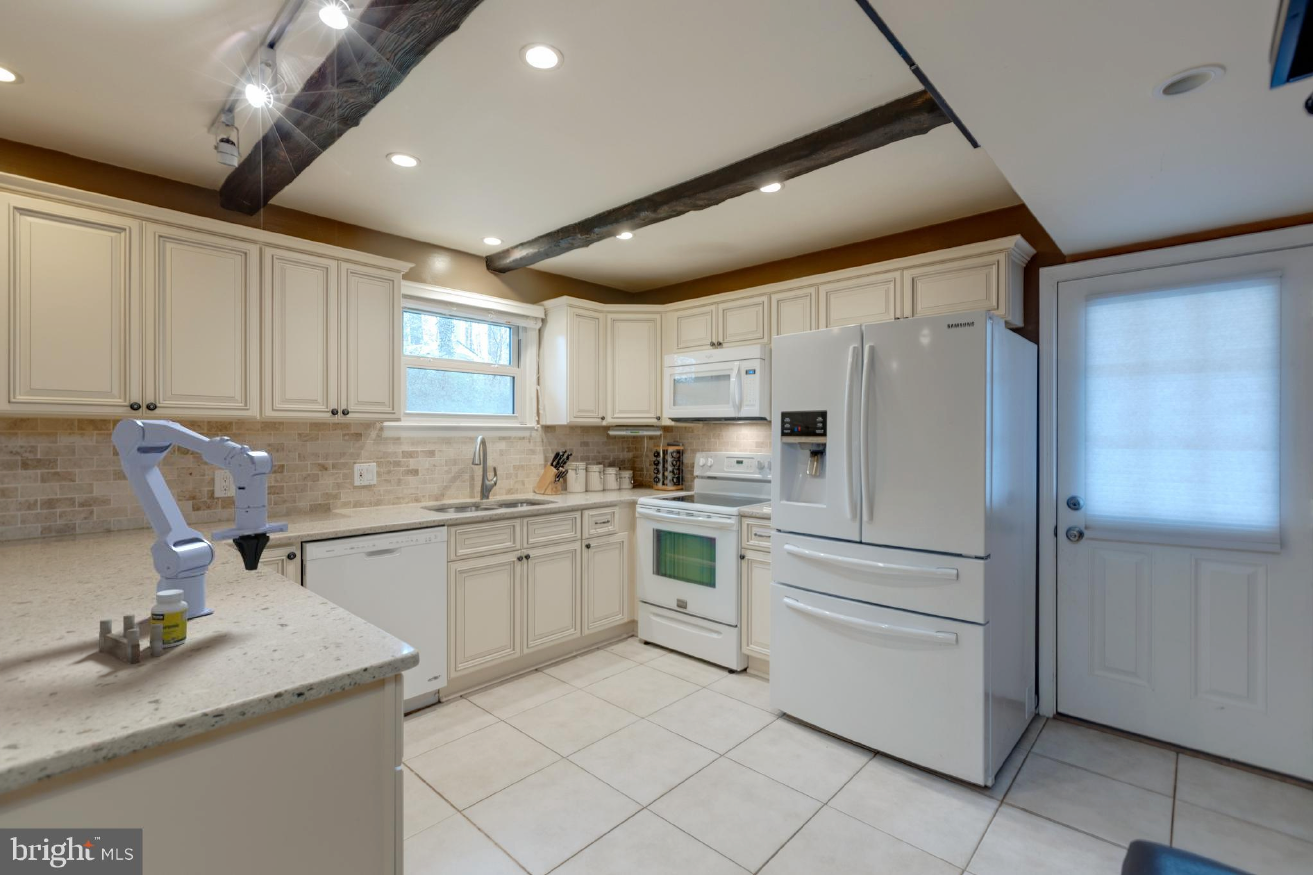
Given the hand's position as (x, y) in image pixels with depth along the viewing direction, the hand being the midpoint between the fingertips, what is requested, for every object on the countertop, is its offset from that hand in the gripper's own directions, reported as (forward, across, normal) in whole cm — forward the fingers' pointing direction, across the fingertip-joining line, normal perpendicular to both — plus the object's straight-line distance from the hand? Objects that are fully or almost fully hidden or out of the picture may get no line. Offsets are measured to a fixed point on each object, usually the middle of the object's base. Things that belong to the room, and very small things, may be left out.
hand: (251, 569), depth 127 cm
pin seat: (+10, -22, -3) cm, 24 cm away
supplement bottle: (+10, -16, -3) cm, 20 cm away
